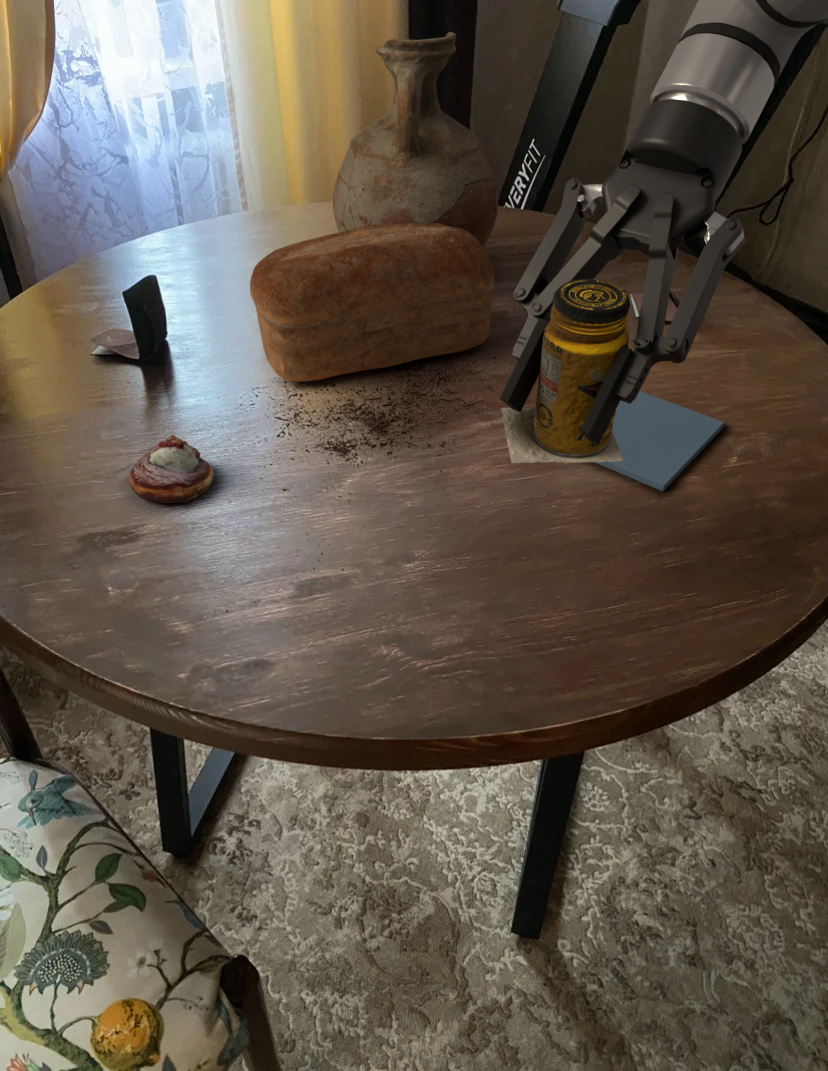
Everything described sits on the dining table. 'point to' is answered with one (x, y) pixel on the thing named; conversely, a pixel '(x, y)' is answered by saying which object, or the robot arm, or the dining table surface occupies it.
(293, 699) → the dining table surface
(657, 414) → the sauce mat
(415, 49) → the jug
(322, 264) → the bread
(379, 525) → the dining table surface
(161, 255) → the dining table surface
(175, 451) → the pastry
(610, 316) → the condiment
